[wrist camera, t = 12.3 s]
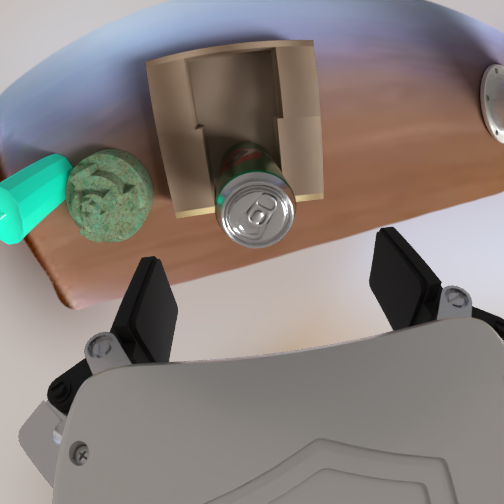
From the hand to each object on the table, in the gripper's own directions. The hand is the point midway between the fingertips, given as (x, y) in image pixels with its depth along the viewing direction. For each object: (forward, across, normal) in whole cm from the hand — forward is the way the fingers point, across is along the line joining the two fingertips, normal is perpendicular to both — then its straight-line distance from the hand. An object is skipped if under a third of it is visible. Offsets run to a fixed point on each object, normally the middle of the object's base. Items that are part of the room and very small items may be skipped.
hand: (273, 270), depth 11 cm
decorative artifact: (+18, +16, +1) cm, 24 cm away
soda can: (+18, 0, 0) cm, 18 cm away
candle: (+18, +23, -3) cm, 29 cm away
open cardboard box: (+18, +1, -4) cm, 19 cm away
